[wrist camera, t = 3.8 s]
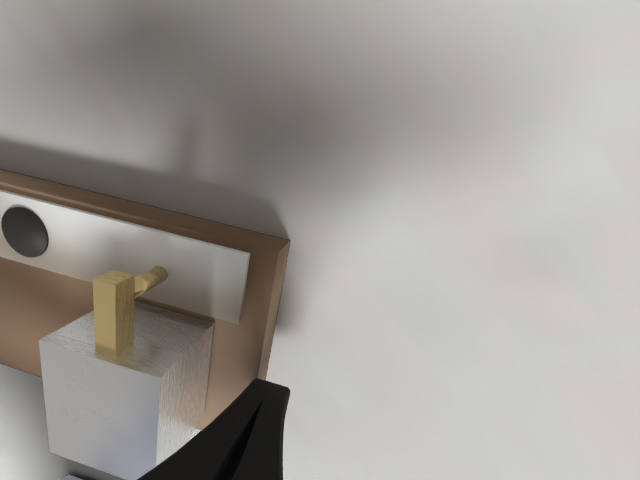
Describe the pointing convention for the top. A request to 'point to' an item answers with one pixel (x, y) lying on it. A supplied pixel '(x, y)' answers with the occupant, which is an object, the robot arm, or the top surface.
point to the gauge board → (135, 258)
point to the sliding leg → (125, 378)
